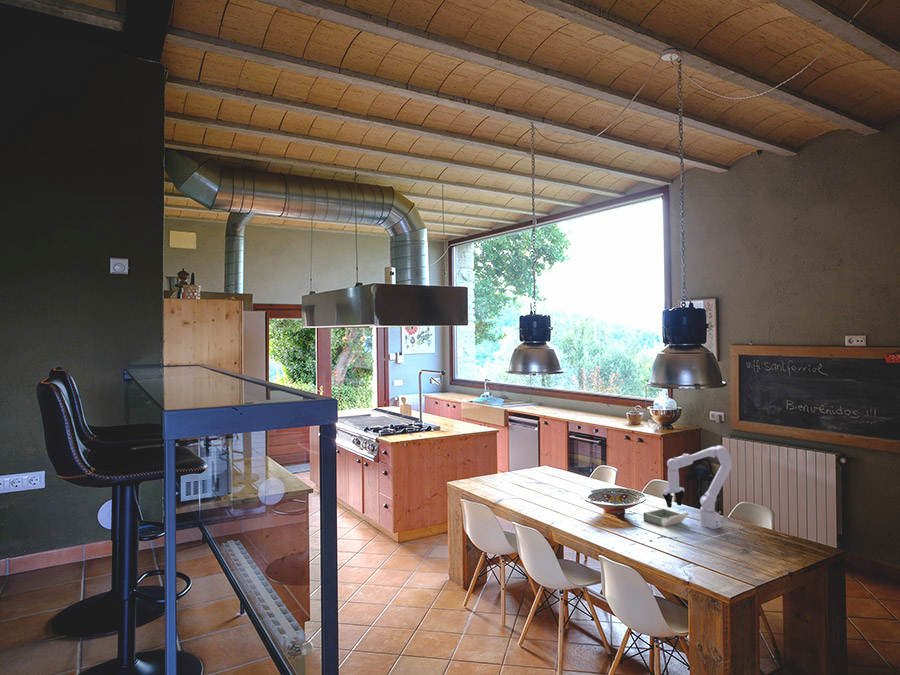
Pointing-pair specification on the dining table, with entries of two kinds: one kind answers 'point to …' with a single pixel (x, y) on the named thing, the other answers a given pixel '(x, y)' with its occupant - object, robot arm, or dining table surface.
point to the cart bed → (658, 516)
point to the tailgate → (675, 519)
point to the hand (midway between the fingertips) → (674, 506)
